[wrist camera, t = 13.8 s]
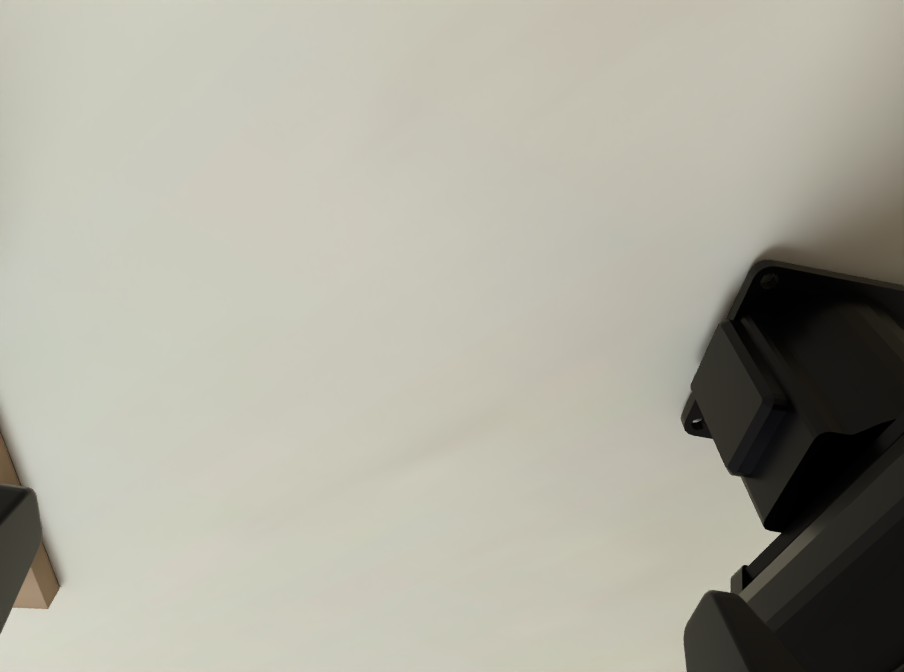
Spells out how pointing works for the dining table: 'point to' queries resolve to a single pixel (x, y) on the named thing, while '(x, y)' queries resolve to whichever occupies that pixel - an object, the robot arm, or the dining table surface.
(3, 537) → the robot arm
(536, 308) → the dining table surface
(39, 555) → the rail board
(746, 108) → the dining table surface
